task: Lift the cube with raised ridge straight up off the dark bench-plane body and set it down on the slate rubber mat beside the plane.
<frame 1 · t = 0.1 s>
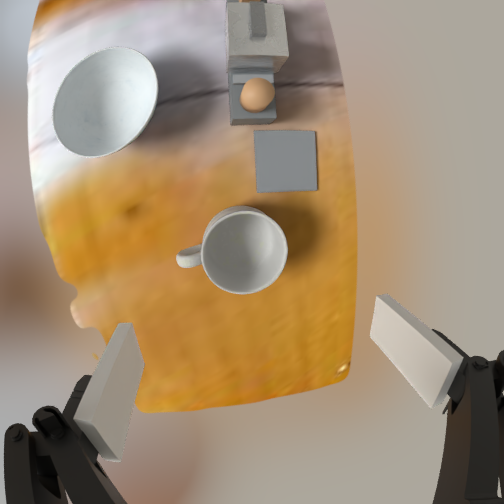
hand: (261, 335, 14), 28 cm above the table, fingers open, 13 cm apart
mat: (286, 160, 38), on the table
chinaware: (119, 110, 33), on the table
plane: (246, 60, 33), on the table
teacup: (228, 238, 41), on the table
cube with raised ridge: (250, 47, 28), point 5 cm above the table, touching plane
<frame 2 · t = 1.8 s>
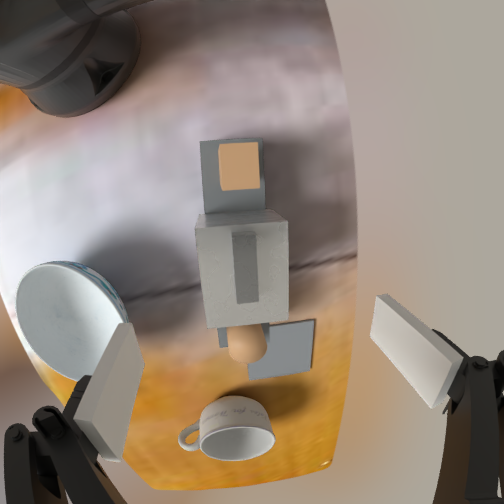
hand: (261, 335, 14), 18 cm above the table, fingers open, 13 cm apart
mat: (279, 351, 36), on the table
chinaware: (91, 299, 31), on the table
plane: (234, 240, 31), on the table
teacup: (222, 407, 39), on the table
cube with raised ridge: (238, 253, 26), point 5 cm above the table, touching plane
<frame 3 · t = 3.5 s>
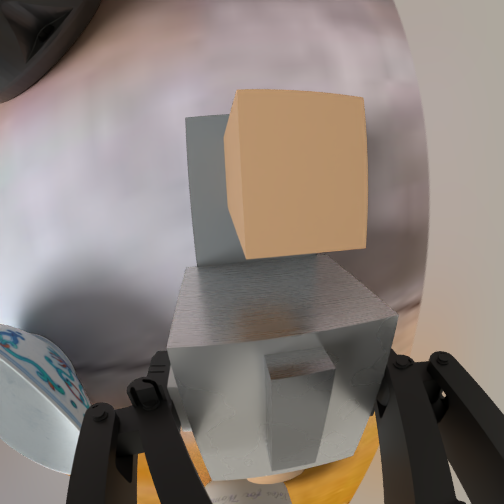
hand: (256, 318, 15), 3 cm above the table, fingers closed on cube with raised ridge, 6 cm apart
chinaware: (47, 362, 18), on the table
plane: (249, 294, 18), on the table
teacup: (230, 477, 26), on the table
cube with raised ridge: (261, 335, 14), point 5 cm above the table, touching gripper, plane
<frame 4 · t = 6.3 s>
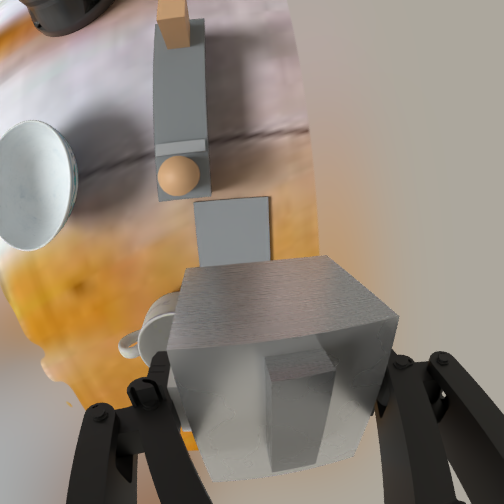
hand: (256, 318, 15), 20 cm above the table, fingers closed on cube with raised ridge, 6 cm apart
mat: (233, 235, 34), on the table
chinaware: (54, 180, 29), on the table
plane: (183, 110, 29), on the table
teacup: (175, 316, 37), on the table
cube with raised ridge: (261, 336, 14), point 22 cm above the table, touching gripper
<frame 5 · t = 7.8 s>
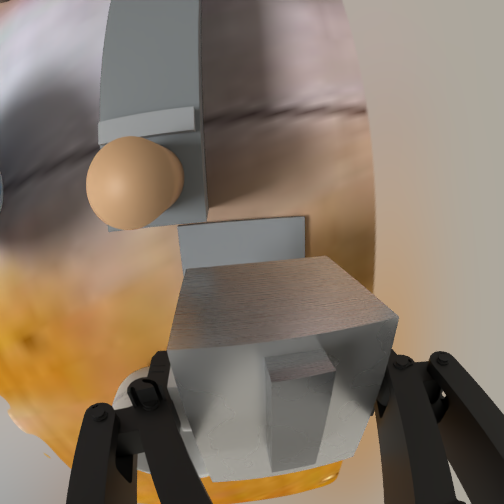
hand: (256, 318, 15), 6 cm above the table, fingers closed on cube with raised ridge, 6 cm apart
mat: (245, 279, 21), on the table
plane: (163, 70, 16), on the table
teacup: (160, 388, 23), on the table
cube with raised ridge: (261, 336, 14), point 8 cm above the table, touching gripper
when the fingers open (1 cm above the table, at t = 9.0 s): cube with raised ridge drops 3 cm, resting on mat.
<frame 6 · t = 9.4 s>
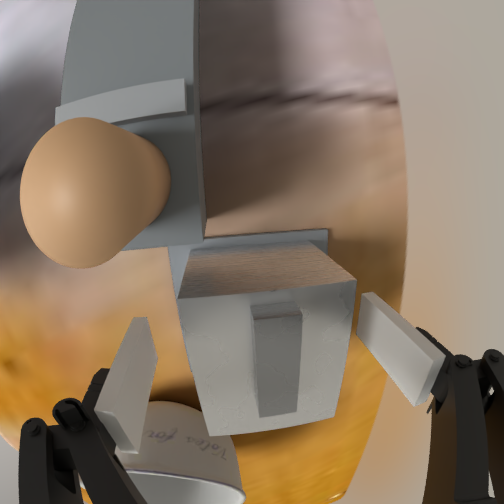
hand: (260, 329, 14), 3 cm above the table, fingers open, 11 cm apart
mat: (253, 306, 17), on the table
plane: (150, 46, 11), on the table
teacup: (154, 421, 19), on the table
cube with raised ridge: (253, 309, 16), resting on mat
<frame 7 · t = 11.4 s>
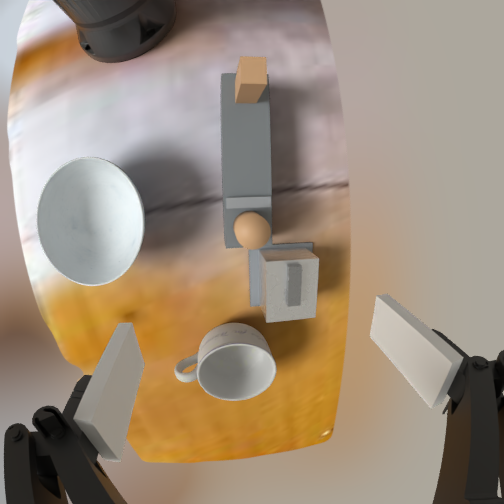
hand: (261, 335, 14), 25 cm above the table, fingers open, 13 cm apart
mat: (280, 274, 40), on the table
chinaware: (108, 214, 34), on the table
plane: (242, 160, 35), on the table
teacup: (222, 343, 42), on the table
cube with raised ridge: (281, 275, 39), resting on mat
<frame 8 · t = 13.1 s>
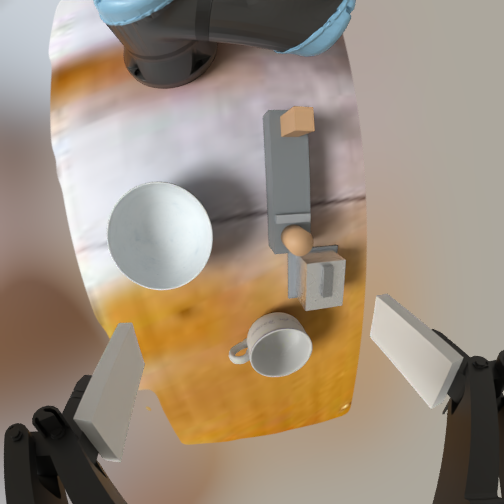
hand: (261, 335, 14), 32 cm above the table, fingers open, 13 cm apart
mat: (312, 271, 48), on the table
chinaware: (166, 226, 43), on the table
plane: (283, 180, 43), on the table
teacup: (264, 330, 51), on the table
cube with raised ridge: (313, 272, 48), resting on mat
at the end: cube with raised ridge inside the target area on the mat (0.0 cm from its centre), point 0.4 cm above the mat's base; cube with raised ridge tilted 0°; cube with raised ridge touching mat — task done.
